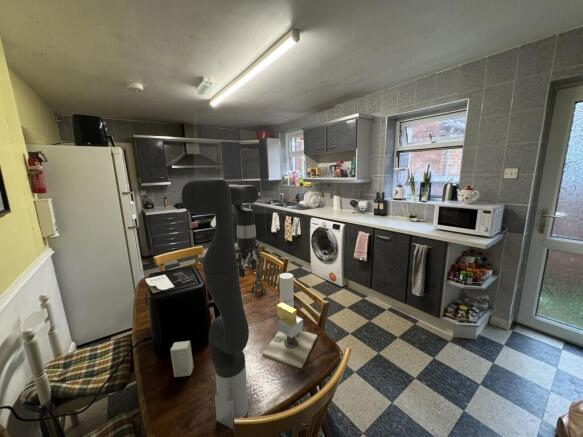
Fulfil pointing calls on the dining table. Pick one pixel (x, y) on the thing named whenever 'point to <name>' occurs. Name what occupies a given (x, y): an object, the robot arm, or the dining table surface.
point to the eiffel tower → (256, 284)
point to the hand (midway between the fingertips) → (248, 272)
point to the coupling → (289, 320)
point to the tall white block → (286, 289)
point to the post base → (291, 348)
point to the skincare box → (182, 358)
